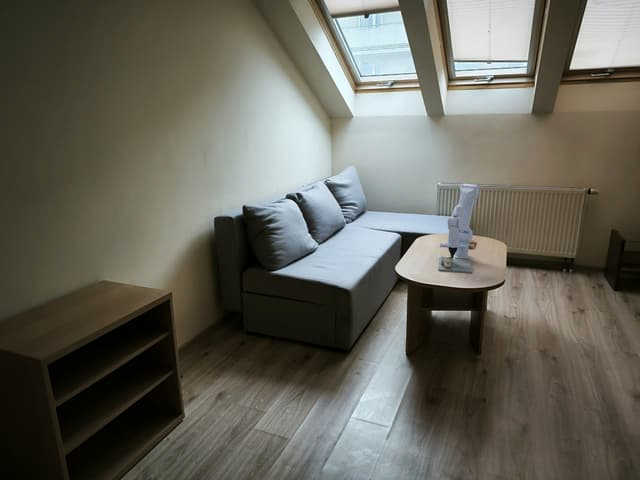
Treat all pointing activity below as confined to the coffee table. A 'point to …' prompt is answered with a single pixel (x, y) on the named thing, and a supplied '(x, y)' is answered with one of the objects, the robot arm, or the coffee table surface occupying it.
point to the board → (457, 266)
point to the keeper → (445, 259)
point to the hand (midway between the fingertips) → (452, 259)
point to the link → (447, 262)
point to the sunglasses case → (472, 245)
